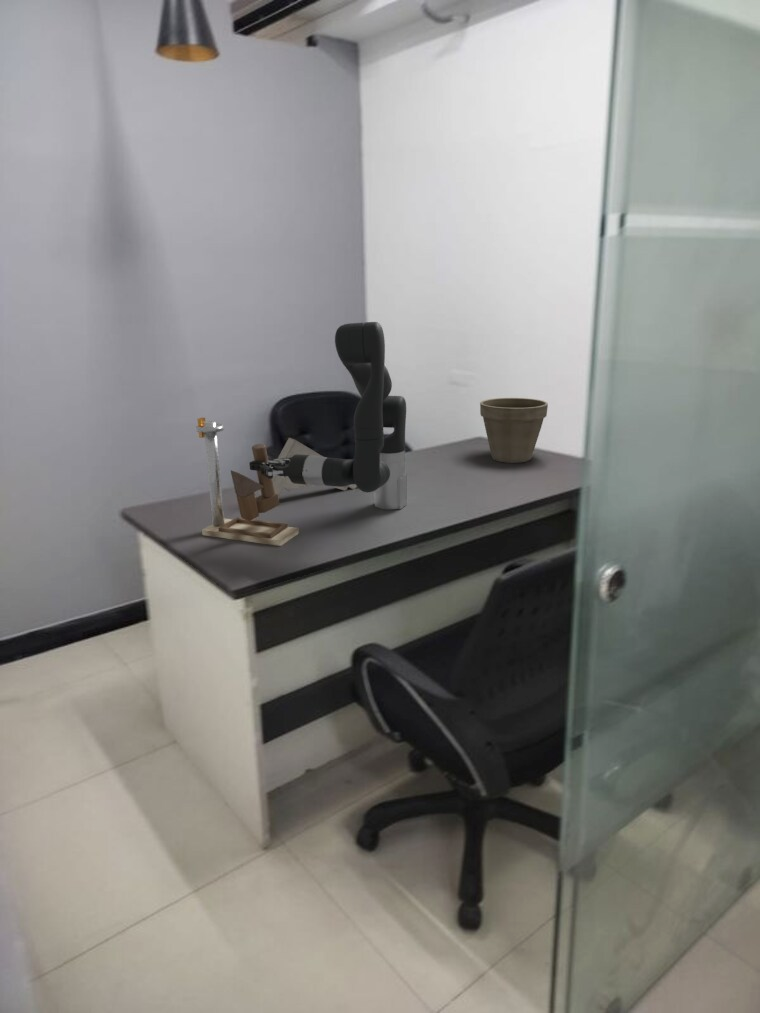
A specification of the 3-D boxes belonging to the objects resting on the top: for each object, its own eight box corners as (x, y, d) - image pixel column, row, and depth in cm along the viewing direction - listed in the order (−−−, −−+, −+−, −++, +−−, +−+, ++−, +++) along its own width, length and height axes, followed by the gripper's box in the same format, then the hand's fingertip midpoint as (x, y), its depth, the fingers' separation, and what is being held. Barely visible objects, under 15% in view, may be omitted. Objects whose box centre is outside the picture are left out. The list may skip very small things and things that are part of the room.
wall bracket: (332, 540, 225) (260, 503, 206) (325, 536, 228) (254, 500, 210) (364, 481, 226) (295, 439, 207) (357, 478, 229) (289, 437, 211)
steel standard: (236, 527, 190) (228, 417, 180) (222, 535, 184) (213, 422, 174) (215, 524, 192) (205, 415, 183) (200, 532, 186) (190, 420, 176)
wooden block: (240, 518, 182) (226, 456, 173) (271, 501, 188) (259, 441, 180) (249, 521, 179) (235, 459, 171) (280, 505, 186) (268, 444, 178)
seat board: (298, 533, 185) (298, 524, 184) (280, 546, 176) (280, 536, 175) (223, 523, 193) (222, 514, 192) (202, 535, 184) (201, 526, 184)
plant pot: (471, 451, 271) (473, 397, 264) (531, 449, 273) (535, 395, 267) (487, 468, 247) (490, 408, 240) (553, 465, 250) (557, 406, 243)
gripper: (321, 449, 176) (262, 445, 182) (298, 462, 165) (236, 457, 170) (322, 477, 179) (264, 472, 184) (300, 491, 167) (238, 485, 173)
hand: (251, 465), depth 177 cm, fingers closed
